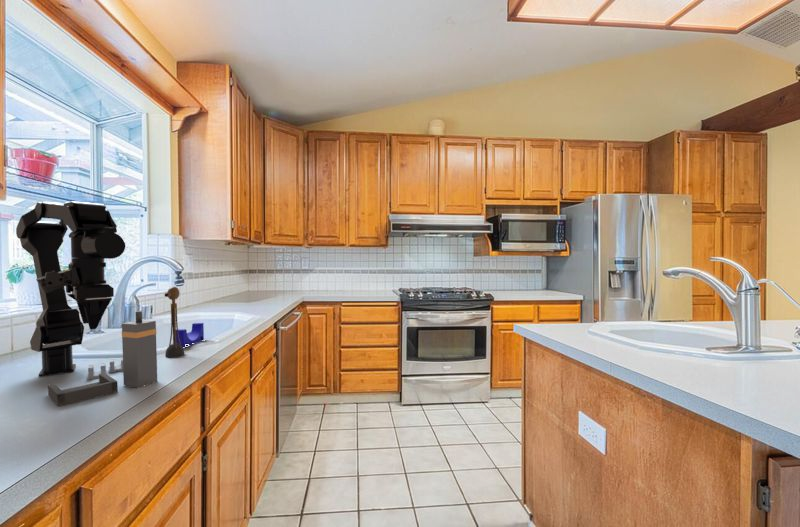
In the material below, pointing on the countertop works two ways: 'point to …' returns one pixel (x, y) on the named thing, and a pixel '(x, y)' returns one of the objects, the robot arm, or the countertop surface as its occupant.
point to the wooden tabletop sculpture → (174, 326)
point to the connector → (139, 352)
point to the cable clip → (191, 335)
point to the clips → (104, 369)
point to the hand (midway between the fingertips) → (89, 326)
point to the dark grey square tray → (83, 391)
